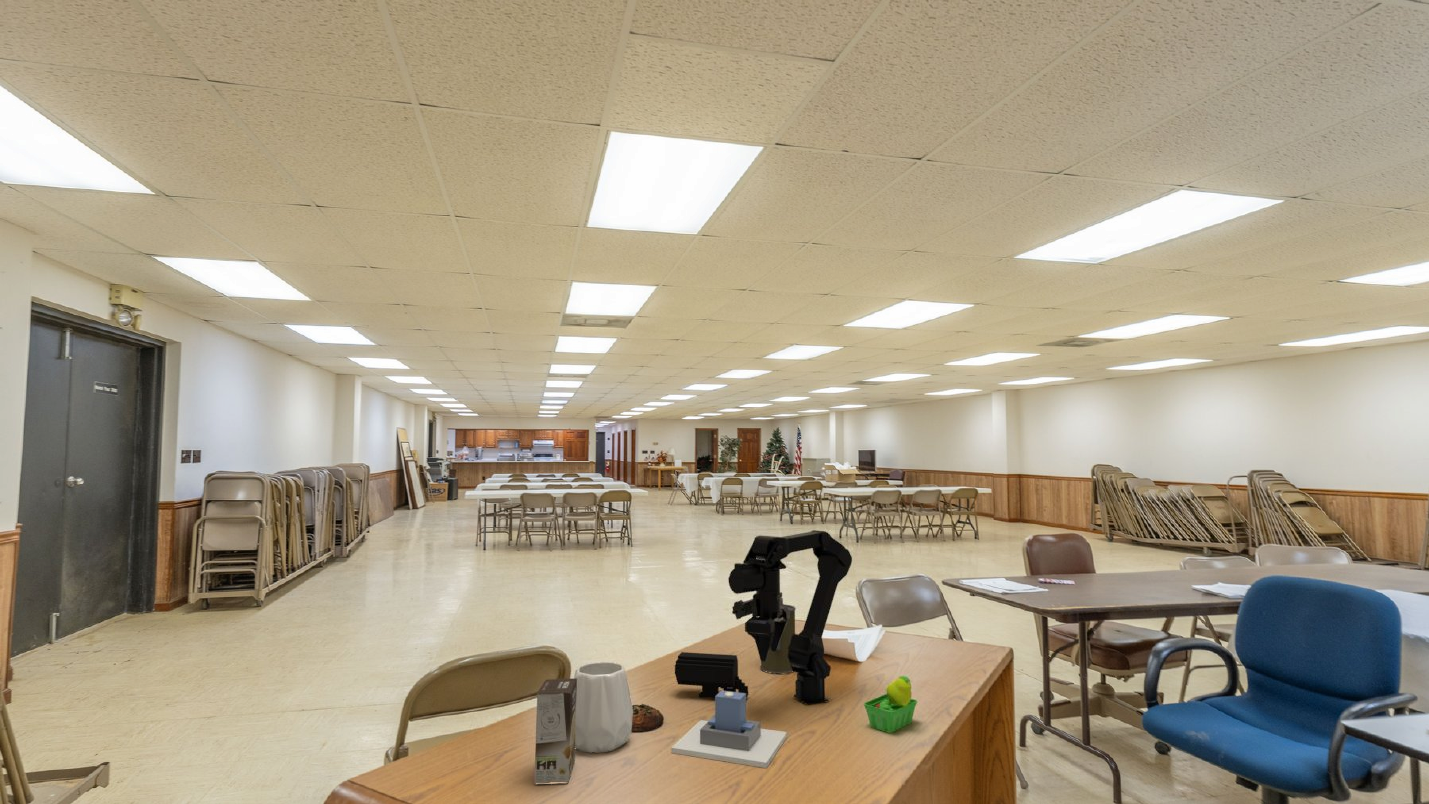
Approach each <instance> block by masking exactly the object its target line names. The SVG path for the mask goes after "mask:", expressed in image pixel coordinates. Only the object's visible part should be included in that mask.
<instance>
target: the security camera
mask: <svg viewBox="0 0 1429 804" xmlns="http://www.w3.org/2000/svg"><path fill="white" fill-rule="evenodd" d="M674 675H675V680H676V683H677V685H683V686H685V685H686V686H697V687H698V686H699V687H701V691H700V692H699V694H698V698H701V699H702V698H703V699H714V700H715V696H716V695H717V694H718V693H719V692H720V690H719V689H723V690H722V691H730V692H737V691H738V693H746V699H747V698H748V697H749V686H748V685H746V682H743V679H742V678H741V679H740V676H739V660H738V655H737V654H721V653H719V654H717V653H704V652H703V653H702V652H701V653H700V652H685V651H681V652H680V653H679V654H678V655H677V660H676V661H675V664H674Z"/></svg>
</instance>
